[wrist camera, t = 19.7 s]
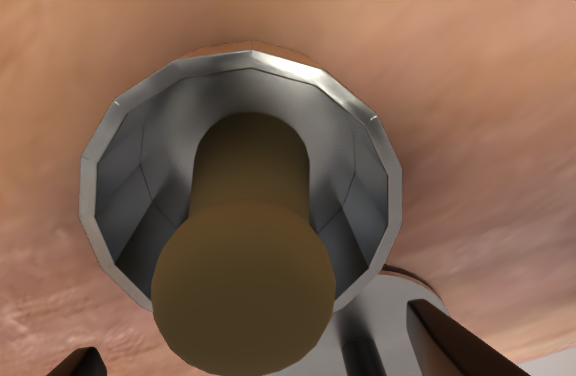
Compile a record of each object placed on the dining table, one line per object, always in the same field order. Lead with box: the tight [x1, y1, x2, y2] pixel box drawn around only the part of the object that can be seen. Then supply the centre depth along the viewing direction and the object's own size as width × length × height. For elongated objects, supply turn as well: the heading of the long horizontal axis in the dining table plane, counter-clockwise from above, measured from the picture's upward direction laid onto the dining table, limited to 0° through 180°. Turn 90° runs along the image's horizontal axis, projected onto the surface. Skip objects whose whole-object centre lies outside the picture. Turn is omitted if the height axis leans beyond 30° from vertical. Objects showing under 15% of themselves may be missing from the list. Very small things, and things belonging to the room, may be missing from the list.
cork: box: [151, 112, 336, 376], centre depth 14 cm, size 6×6×11 cm
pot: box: [78, 40, 403, 313], centre depth 17 cm, size 12×12×6 cm
